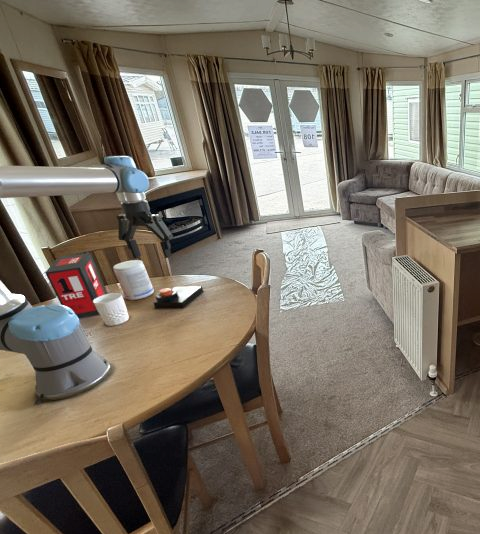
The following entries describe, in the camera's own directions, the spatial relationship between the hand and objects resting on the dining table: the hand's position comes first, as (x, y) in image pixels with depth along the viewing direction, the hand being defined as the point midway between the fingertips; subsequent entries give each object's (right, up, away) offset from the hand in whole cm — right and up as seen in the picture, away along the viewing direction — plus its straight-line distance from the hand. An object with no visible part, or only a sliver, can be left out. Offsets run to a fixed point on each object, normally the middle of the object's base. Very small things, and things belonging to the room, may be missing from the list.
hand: (153, 256), depth 131 cm
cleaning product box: (-29, -21, +4) cm, 36 cm away
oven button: (0, -15, +7) cm, 17 cm away
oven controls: (+2, -18, +12) cm, 21 cm away
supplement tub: (-17, -16, +14) cm, 28 cm away
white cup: (-10, -25, -4) cm, 27 cm away
